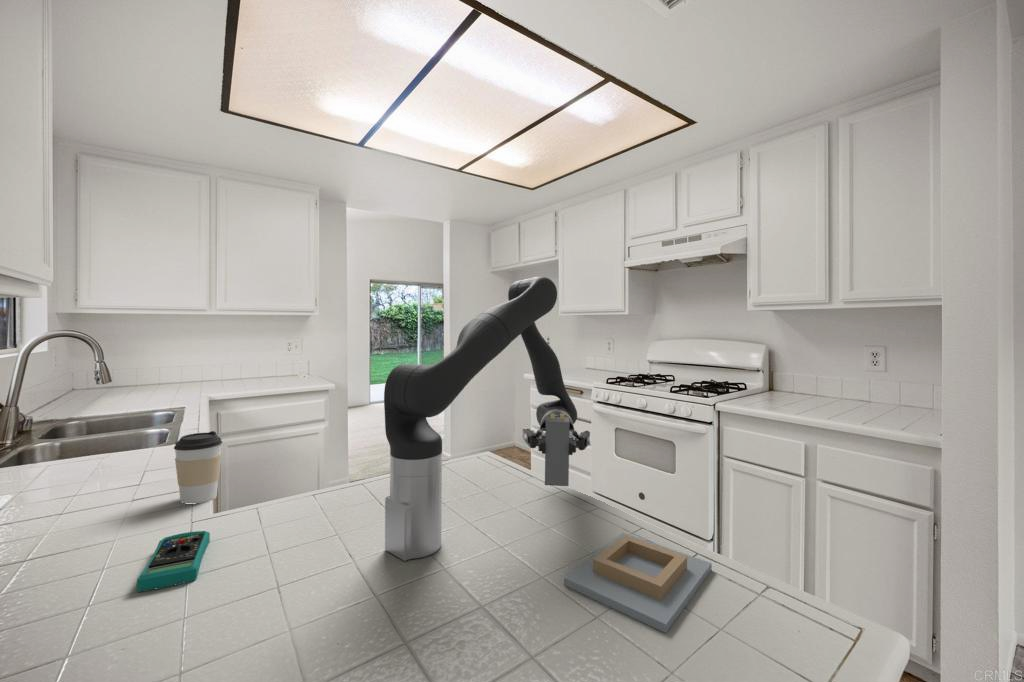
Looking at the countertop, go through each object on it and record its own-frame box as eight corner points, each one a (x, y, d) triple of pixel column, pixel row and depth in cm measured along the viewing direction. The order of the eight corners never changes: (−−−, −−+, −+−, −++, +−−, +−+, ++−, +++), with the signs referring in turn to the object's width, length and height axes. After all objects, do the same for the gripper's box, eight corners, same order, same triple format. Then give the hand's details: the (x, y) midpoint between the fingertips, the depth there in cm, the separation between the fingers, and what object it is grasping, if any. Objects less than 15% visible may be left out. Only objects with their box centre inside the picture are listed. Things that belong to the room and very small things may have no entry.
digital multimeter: (210, 542, 80) (210, 526, 80) (196, 583, 67) (196, 565, 67) (160, 551, 77) (160, 535, 76) (135, 597, 63) (135, 577, 63)
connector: (544, 485, 80) (545, 415, 80) (545, 477, 84) (546, 411, 84) (568, 486, 80) (569, 416, 79) (567, 478, 84) (568, 412, 84)
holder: (666, 633, 56) (666, 609, 56) (564, 585, 67) (564, 565, 67) (711, 570, 72) (711, 551, 71) (622, 539, 82) (622, 522, 82)
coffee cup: (184, 510, 93) (184, 441, 92) (167, 500, 98) (166, 435, 97) (230, 496, 100) (229, 432, 100) (211, 488, 105) (211, 427, 105)
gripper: (525, 410, 97) (519, 427, 80) (589, 412, 95) (596, 430, 78) (524, 443, 97) (518, 467, 80) (588, 446, 96) (596, 471, 79)
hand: (557, 449), depth 79 cm, fingers closed on connector, 4 cm apart
